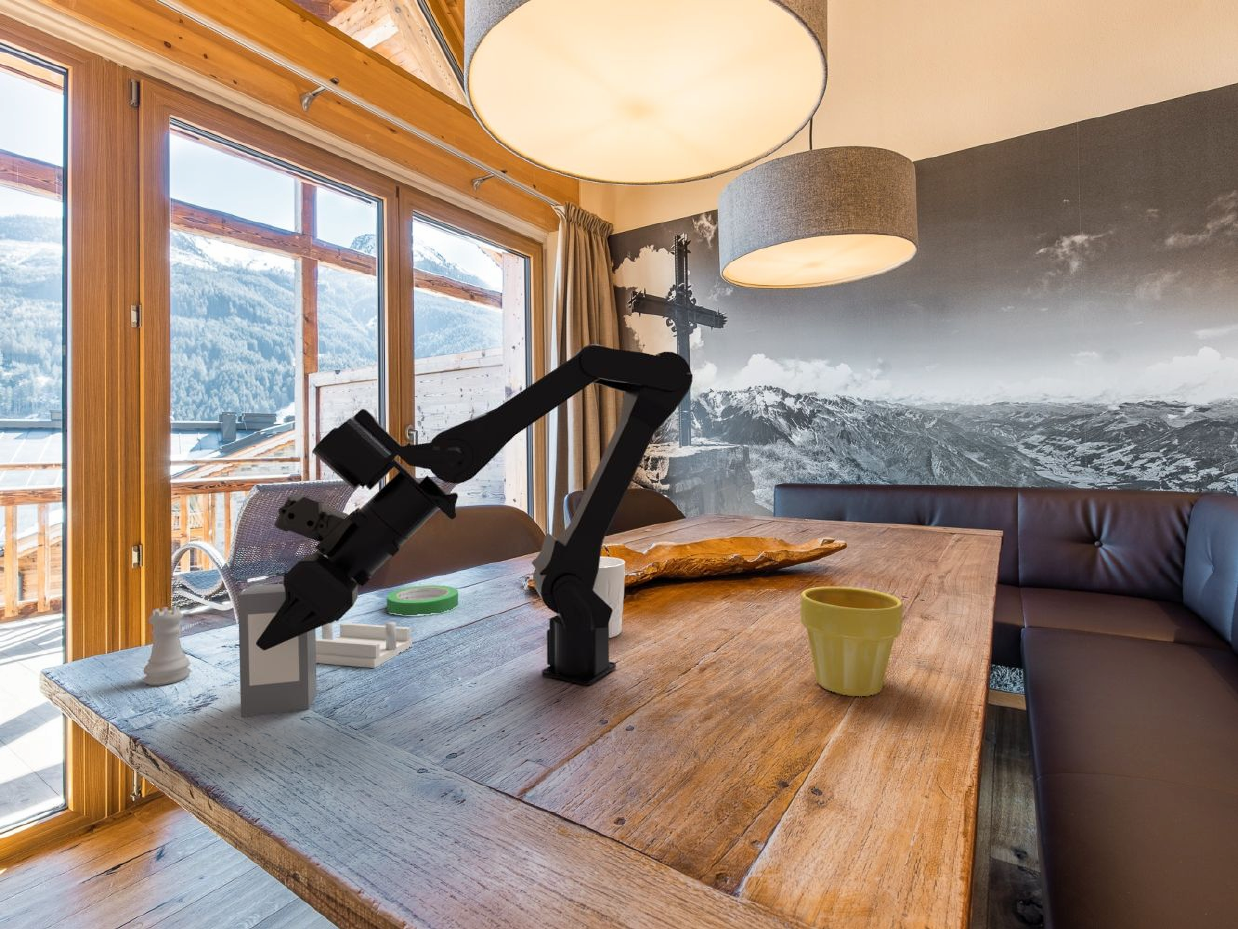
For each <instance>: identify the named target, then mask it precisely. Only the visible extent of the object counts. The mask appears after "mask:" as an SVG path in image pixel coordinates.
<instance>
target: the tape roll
mask: <svg viewBox="0 0 1238 929" xmlns="http://www.w3.org/2000/svg"><path fill="white" fill-rule="evenodd" d="M457 605H458V606H459V590H458V589H457V588H455V587H452V586H449V585H448V586H446V585H440V584H439V585H433V584H432V585H429V584H428V585H420V586H419V585H418V586H410V587H405V588H402V589H396V590H395V591H392V592H390V593H388V594H387V596H386V612H387V611H388V612H390V613H396V614H402V615H417V614H431V613H441V612H444V611H447V610H451V609H453V608H454V607H456V606H457ZM453 610H454V609H453ZM451 611H452V610H451ZM388 612H387V613H388ZM441 614H442V613H441Z"/></svg>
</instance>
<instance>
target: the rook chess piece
mask: <svg viewBox="0 0 1238 929" xmlns="http://www.w3.org/2000/svg"><path fill="white" fill-rule="evenodd" d="M183 618H184V613H182V612H181V611H180V607H179V606H177V605H174V606H171V607H170V609H169V610H168V606H165V607H164V606H163V607H161V611H160V608H155V609H153V610H151V615H150V616H149V618H147V622H149V624H151V626H152V630H151V632H150V634H151V635H152V640H153V641H152V648H151V654H150V657H149V659H147V662H148V663H147V664H146V665H145V666H144V668H143V670H142V671H143V674H144V675H145V676H144V677H142V681H143V683H145V684H146V685H147V684H148V686H150V685H154V687H155V686H156V687H158V685H160V686H167V685H171V683H172V684H175V682H176V683H178V681H179V682H181V681H183V680H185V679H187V678H188V677H189V676H190V674H191V672H192V670H191V668H189V666H190V665H191V662H190V660H189V658H188V657H186V653H184V652H183V649H182V643H181V639H180V631H181V630H182V628H181V626H180V621H181V620H182V619H183ZM166 684H167V685H166Z"/></svg>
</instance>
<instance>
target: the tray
mask: <svg viewBox="0 0 1238 929" xmlns="http://www.w3.org/2000/svg"><path fill="white" fill-rule="evenodd" d="M411 646H413V638H411V627H408V626H405V627H404V626H397V622H395V621H388V622H386V623H385V625H380V624H367V623H353V622H352V623H351V622H342V623H340V624H339V636H337V637H335V638H334V636H333V623H328V624H326V625H323V626H321V638H316V664H324V665H325V664H327V665H335V666H348V667H356V668H357V667H358V668H368V669H369V668H371V669H376V668H377V667H379V666H381V665H383V664H384V663H387V662H388V661H389V660H391V659H393V658H394V657H396V656H398V655H400V654H401V653H403V652H405V651H407V650H408V649H410V648H412V647H411ZM409 647H410V648H409ZM406 649H407V650H406ZM400 652H401V653H400ZM399 653H400V654H399Z"/></svg>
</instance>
